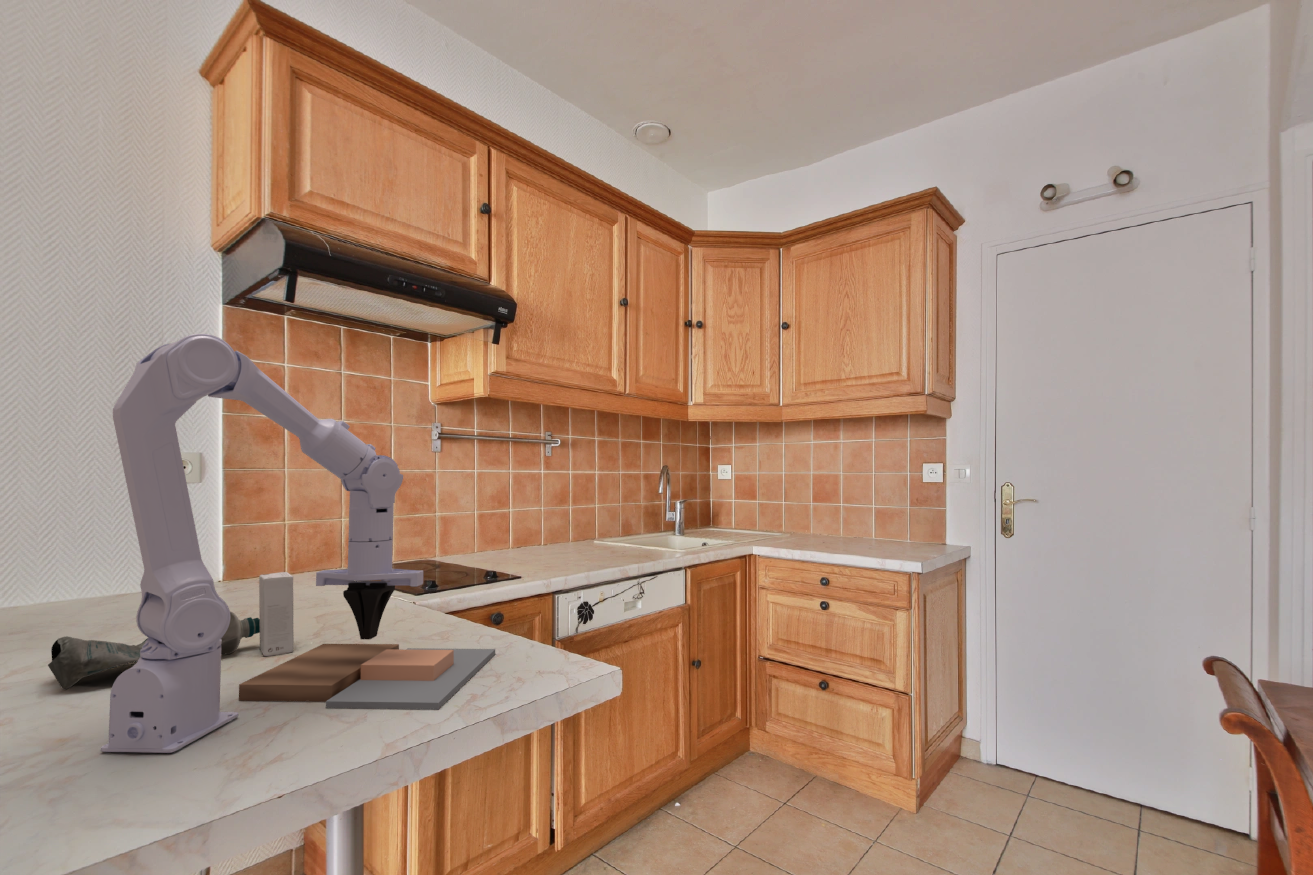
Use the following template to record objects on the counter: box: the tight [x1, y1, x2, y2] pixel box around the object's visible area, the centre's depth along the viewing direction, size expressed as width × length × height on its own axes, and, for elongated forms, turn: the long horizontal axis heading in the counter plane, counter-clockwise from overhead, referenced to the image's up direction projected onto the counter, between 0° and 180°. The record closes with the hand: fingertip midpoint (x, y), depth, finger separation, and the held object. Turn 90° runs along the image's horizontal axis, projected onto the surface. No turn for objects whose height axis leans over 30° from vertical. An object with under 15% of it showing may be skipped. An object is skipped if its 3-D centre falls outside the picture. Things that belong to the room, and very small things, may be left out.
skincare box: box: [258, 571, 295, 657], centre depth 99 cm, size 6×4×12 cm
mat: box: [325, 647, 496, 710], centre depth 85 cm, size 22×14×1 cm, turn 177°
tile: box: [361, 649, 454, 681], centre depth 85 cm, size 7×10×2 cm
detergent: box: [47, 610, 260, 690], centre depth 91 cm, size 13×7×25 cm
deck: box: [238, 643, 400, 703], centre depth 86 cm, size 18×12×2 cm, turn 177°
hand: (368, 637), depth 86 cm, fingers closed
